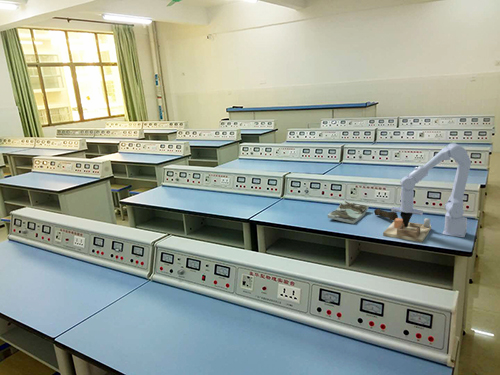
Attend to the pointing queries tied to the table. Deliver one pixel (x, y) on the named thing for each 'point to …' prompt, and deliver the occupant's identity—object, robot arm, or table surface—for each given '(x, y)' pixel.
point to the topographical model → (348, 212)
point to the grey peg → (427, 222)
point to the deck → (408, 232)
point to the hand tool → (386, 214)
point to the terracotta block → (398, 222)
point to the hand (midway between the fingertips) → (406, 226)
